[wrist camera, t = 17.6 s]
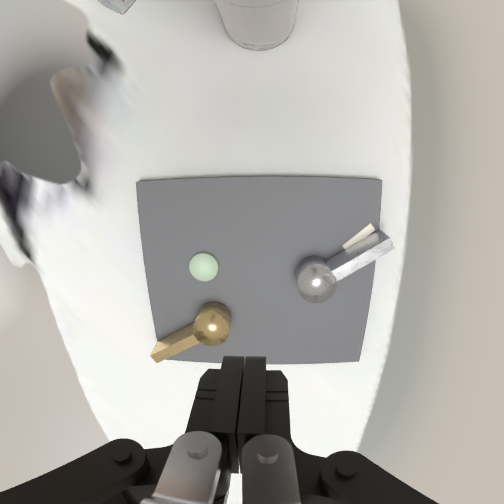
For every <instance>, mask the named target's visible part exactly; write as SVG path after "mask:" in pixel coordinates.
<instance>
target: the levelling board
mask: <svg viewBox="0 0 504 504" xmlns="http://www.w3.org/2000/svg"><path fill="white" fill-rule="evenodd" d="M136 189H137V201H138V213H139V223H140V232H141V241H142V249H143V257H144V265H145V272H146V279H147V285H148V292H149V298H150V304H151V310H152V316H153V321H154V327H155V332H156V337H157V342H158V341H159V340H161V339H163V338H165V337H167V336H169V335H171V334H173V333H175V332H177V331H179V330H180V329H182V328H184V327H186V326H188V325H190V324H192V323H194V322H195V320H196V317H197V315H198V312H199V310H200V308H201V307H202V306H203V305H205V304H206V303H210V302H217V303H220V304H223V305H224V306H226V307H227V308H228V309H229V311H230V313H231V316H232V320H231V325H230V330H229V335H228V338H227V340H226V341H225V342H224V343H223V344H221V345H219V346H207V345H204V344H202V343H198V344H196V345H194V346H192V347H190V348H188V349H186V350H184V351H182V352H180V353H177V354H175V355H173V356H171V357H169V358H167V359H166V360H178V361H192V362H208V363H222V361H223V357H224V356H244V357H245V358H246V356H266V364H317V363H339V362H355V361H359V359H360V354H361V349H362V344H363V339H364V334H365V329H366V323H367V317H368V311H369V305H370V299H371V292H372V285H373V278H374V270H375V262H376V260H374V261H372V262H370V263H369V264H367V265H365V266H363V267H362V268H360V269H358V270H357V271H355V272H353V273H351V274H349V275H348V276H346V277H344V278H342V279H341V280H339V281H337V287H336V290H335V293H334V294H333V295H332V297H331V298H329V299H328V300H327V301H325V302H322V303H310V302H307V301H306V300H304V299H303V298H302V297H301V296H300V294H299V291H298V287H297V281H296V276H295V272H296V268H297V266H298V265H299V263H300V262H301V261H302V260H304V259H306V258H308V257H312V256H317V257H321V258H323V259H324V260H328V259H329V258H331V257H333V256H335V255H336V254H338V253H340V252H342V251H343V250H345V249H347V248H349V247H350V246H352V245H354V244H356V243H357V242H359V241H361V240H362V239H364V238H366V237H368V236H369V235H371V234H373V233H374V232H376V231H378V230H379V222H380V209H381V194H382V180H379V179H365V178H343V177H311V176H234V177H201V178H179V179H162V180H147V181H138V182H136Z"/></svg>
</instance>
